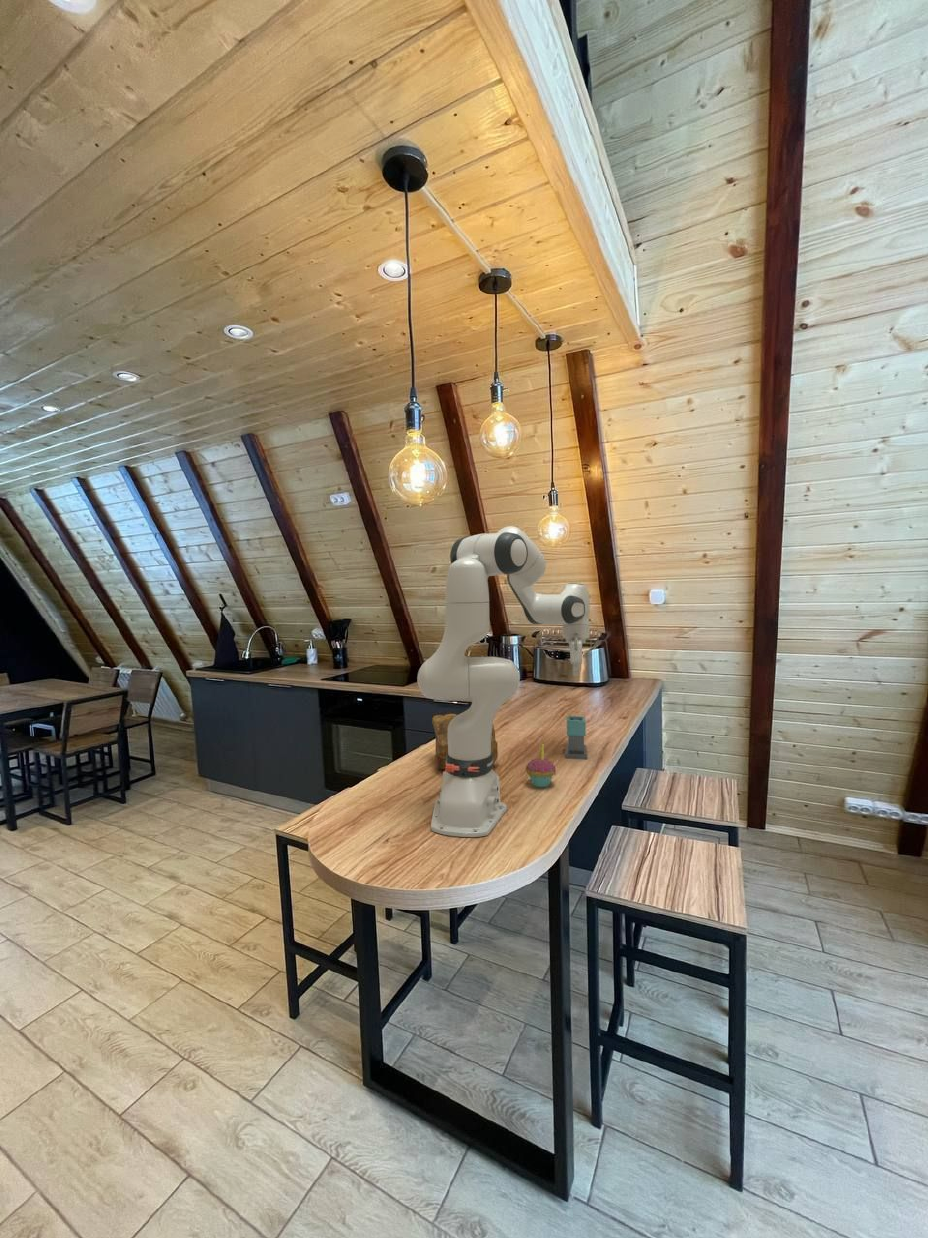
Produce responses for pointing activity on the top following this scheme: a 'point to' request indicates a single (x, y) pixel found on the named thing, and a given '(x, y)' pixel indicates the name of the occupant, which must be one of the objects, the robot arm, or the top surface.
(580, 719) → the teal hollow box
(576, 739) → the grey pedestal stand
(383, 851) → the top surface
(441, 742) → the rough brown rock
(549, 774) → the cupcake
